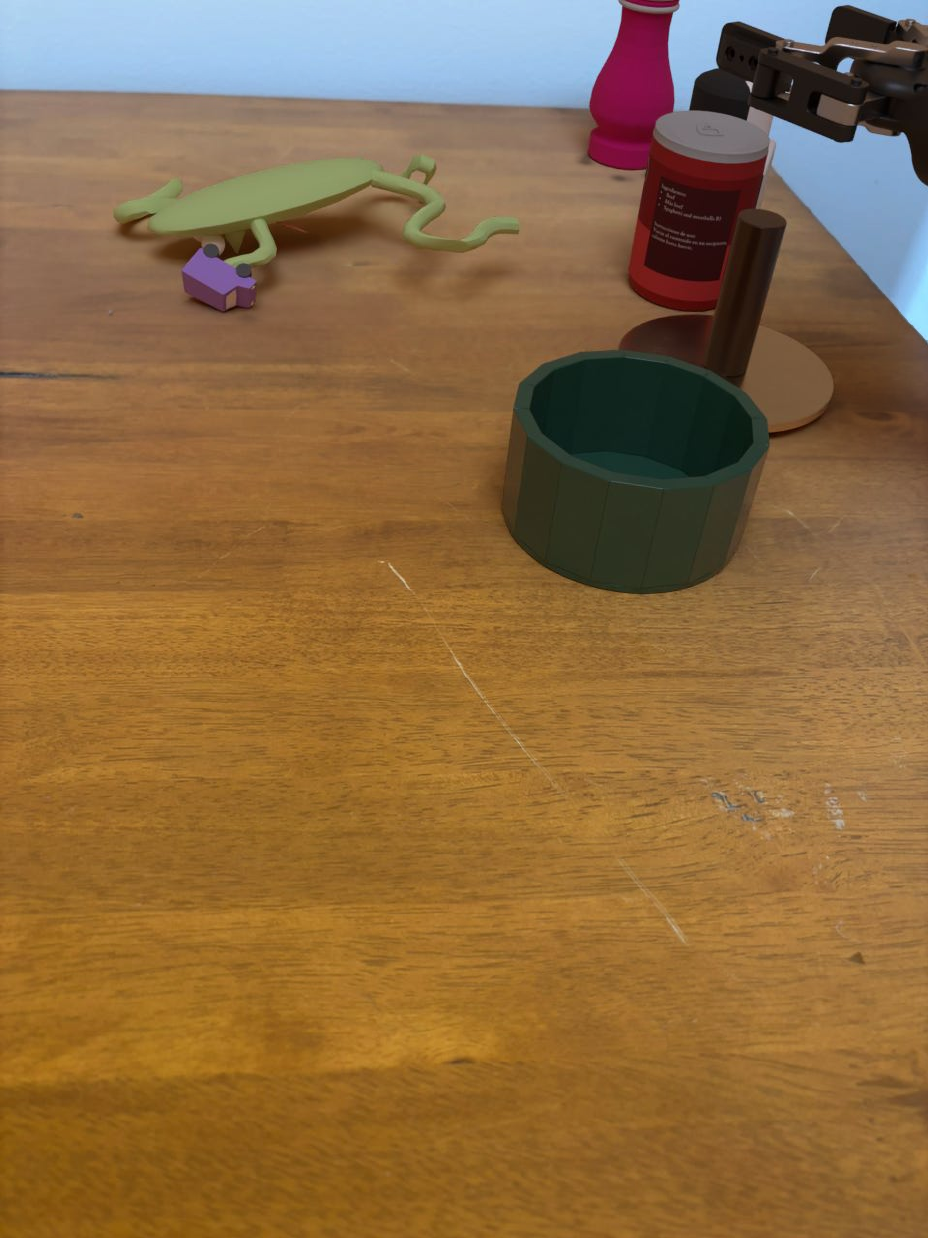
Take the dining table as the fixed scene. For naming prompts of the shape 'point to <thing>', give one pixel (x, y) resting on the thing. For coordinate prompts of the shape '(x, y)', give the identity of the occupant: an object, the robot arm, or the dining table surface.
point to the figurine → (283, 217)
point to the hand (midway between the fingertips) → (779, 33)
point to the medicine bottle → (732, 107)
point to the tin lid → (746, 333)
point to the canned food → (693, 205)
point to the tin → (632, 469)
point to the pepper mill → (633, 85)
